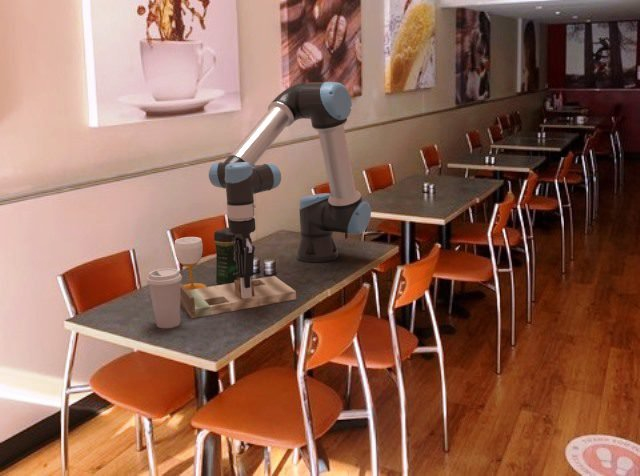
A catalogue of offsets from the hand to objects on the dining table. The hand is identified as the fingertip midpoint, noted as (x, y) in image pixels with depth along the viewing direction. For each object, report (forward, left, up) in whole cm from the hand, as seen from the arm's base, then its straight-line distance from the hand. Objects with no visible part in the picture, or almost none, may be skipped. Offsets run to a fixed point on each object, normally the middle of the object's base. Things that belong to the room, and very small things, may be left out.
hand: (246, 297), depth 197 cm
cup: (+9, -28, -4) cm, 30 cm away
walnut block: (-1, -5, -1) cm, 6 cm away
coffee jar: (-4, -27, -4) cm, 28 cm away
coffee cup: (+23, 0, -4) cm, 23 cm away
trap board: (0, -10, -4) cm, 11 cm away
